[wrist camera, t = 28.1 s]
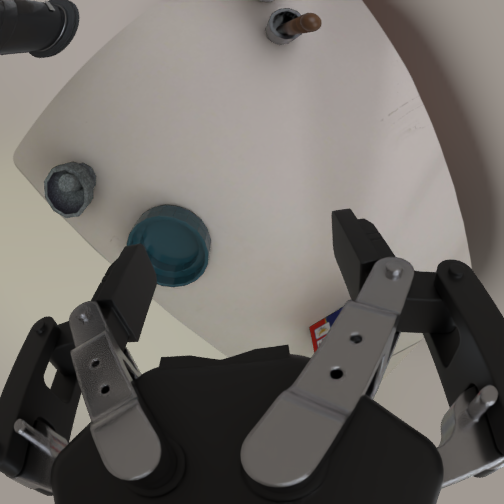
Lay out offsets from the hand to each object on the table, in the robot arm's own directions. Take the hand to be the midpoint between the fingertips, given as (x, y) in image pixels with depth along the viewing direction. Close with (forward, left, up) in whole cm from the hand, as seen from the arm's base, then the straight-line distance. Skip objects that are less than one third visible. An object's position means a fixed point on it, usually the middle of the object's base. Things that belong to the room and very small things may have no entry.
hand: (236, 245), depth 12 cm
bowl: (-18, -20, -38) cm, 47 cm away
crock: (+8, +13, -38) cm, 41 cm away
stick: (+8, +13, -38) cm, 41 cm away
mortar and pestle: (-31, -3, -38) cm, 49 cm away
